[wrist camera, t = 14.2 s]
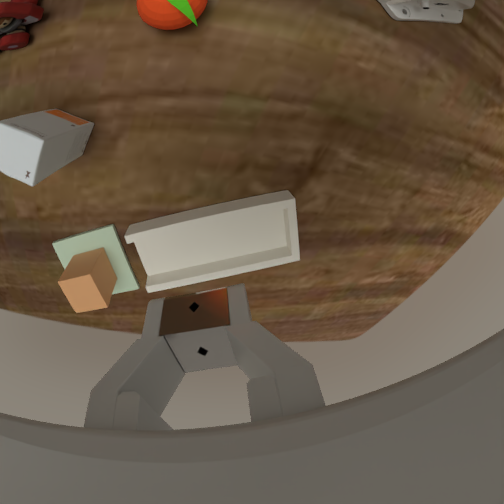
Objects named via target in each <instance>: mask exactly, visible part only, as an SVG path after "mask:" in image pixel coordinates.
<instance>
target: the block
mask: <svg viewBox="0 0 504 504" xmlns="http://www.w3.org/2000/svg"><path fill="white" fill-rule="evenodd" d="M116 281H117V276H116V274H115V272H114V270H113V268H112V266H111V263H110V261H109V259H108V257H107V254H106V252H105V250H104V248H99V249H95V250H92V251H88V252H84V253H80V254H77V255H73V257H72V259H71V260H70V262H69V263H68V265H67V267H66V269H65V270H64V272H63V274H62V275H61V277H60V279H59V281H58V283H59V285H60V287H61V289H62V290H63V292H64V294H65V296H66V297H67V299H68V301H69V302H70V304H71V306H72V307H73V309H74V310H75V312H76V313H79V312H85V311H90V310H96V309H101V308H107V307H108V305H109V302H110V299H111V296H112V293H113V290H114V287H115V284H116Z"/></svg>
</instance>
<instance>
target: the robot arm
mask: <svg viewBox="0 0 504 504" xmlns="http://www.w3.org/2000/svg"><path fill="white" fill-rule="evenodd" d="M378 1H379V2H380V3H381V5H382V6H383V7H384V9H385V10H386V11H387V13H388V14H389V15H390V16H391V17H392V18H393V19H395V20H398V21H431V22H444V23H454V24H457V23H461V21H462V18H463V9H470V8H472V7H473V6H474V3H475V0H378ZM402 11H403V12H404V13H403V12H402ZM236 365H238V367H239V368H240V369H241V370H242V371H243V372H244V373H245V374H246V375H247V377H248V378H249V379H250V380H249V382H248V383H247V389H248V390H247V391H248V399H249V407H250V415H251V422H248V423H241V424H234V425H226V426H217V427H208V428H195V429H180V430H173V429H172V428H171V427H170V426H169V425H168V424H167V423H166V422H165V421H164V420H163V419H162V418H161V417H160V416H161V414H162V412H163V410H164V409H165V407H166V406H167V404H168V402H169V400H170V399H171V397H172V395H173V394H174V392H175V390H176V389H177V387H178V385H179V384H180V382H181V380H182V378H183V377H184V375H185V373H186V372H193V371H200V370H205V369H213V368H220V367H229V366H236ZM0 504H504V329H503V330H501V331H499V332H498V333H496V334H494V335H493V336H491V337H489V338H488V339H486V340H484V341H483V342H481V343H479V344H477V345H476V346H474V347H472V348H470V349H469V350H467V351H465V352H463V353H461V354H459V355H457V356H455V357H453V358H451V359H449V360H447V361H445V362H443V363H441V364H439V365H437V366H435V367H433V368H430V369H428V370H426V371H424V372H421V373H419V374H417V375H415V376H412V377H410V378H407V379H405V380H402V381H400V382H397V383H395V384H392V385H390V386H387V387H384V388H382V389H379V390H376V391H373V392H370V393H368V394H364V395H361V396H358V397H355V398H352V399H349V400H345V401H342V402H339V403H335V404H332V405H328V406H325V403H324V399H323V396H322V393H321V390H320V387H319V383H318V380H317V377H316V374H315V371H314V368H313V365H312V364H311V363H310V362H308V361H307V360H306V359H304V358H303V357H302V356H300V355H299V354H298V353H296V352H295V351H294V350H292V349H291V348H290V347H288V346H287V345H286V344H285V343H283V342H282V341H281V340H279V339H278V338H277V337H276V336H274V335H273V334H272V333H270V332H269V331H268V330H267V329H265V328H264V327H263V326H261V325H260V324H259V323H258V322H256V321H252V317H251V313H250V308H249V303H248V299H247V294H246V289H245V285H244V284H243V283H242V284H237V285H232V286H228V287H225V288H220V289H214V290H209V291H204V292H198V293H192V294H185V295H179V296H172V297H166V298H160V299H153V300H151V301H150V302H149V303H148V307H147V312H146V317H145V322H144V327H143V332H142V338H141V339H137V340H136V341H135V342H134V343H133V344H132V345H131V346H130V348H129V349H128V350H127V351H126V352H125V353H124V354H123V355H122V356H121V358H120V359H119V360H118V361H117V362H116V363H115V364H114V365H113V366H112V368H111V369H110V370H109V371H108V372H107V373H106V374H105V375H104V377H103V378H102V379H101V380H100V381H99V382H98V383H97V385H96V386H95V387H94V388H93V389H92V390H91V393H90V398H89V403H88V408H87V413H86V418H85V424H84V427H74V426H66V425H59V424H52V423H46V422H40V421H35V420H29V419H25V418H21V417H16V416H12V415H8V414H4V413H0Z"/></svg>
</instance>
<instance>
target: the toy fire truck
mask: <svg viewBox="0 0 504 504" xmlns="http://www.w3.org/2000/svg"><path fill="white" fill-rule="evenodd" d="M37 2H38V0H11V1H10V2H1V3H0V34H2V33H7V35H5V36H3V37H2V38H1V39H0V50H13V49H19V48H22V47H24V46H26V45H27V44H28V41H29V33H27V32H25V31H26V30H25V25H27V24H30V23H33V22H37V21H39V20H40V19H41V18H42V14H43V11H44V9H43V8H42V7H40V6H37Z"/></svg>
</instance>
